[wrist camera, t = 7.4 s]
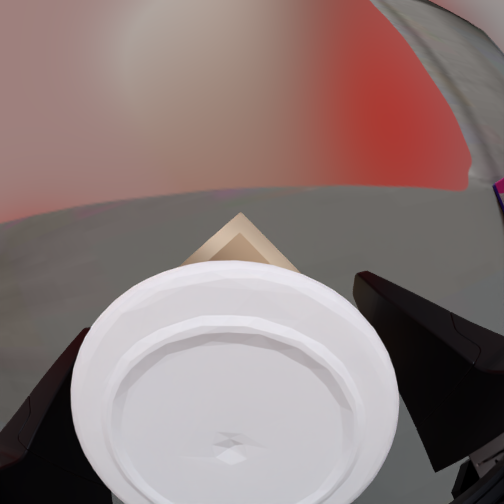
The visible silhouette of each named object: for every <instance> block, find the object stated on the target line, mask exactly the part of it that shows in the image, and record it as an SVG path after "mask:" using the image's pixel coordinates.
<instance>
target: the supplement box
mask: <svg viewBox="0 0 504 504" xmlns="http://www.w3.org/2000/svg"><path fill="white" fill-rule="evenodd" d="M493 188H494V190H495V193H496V195H497V197H498V200H499V202H500V204H501V207H502V210H503V212H504V178H502V179H501V180H499V181H498V182H496V183H494V184H493Z"/></svg>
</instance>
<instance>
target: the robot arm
mask: <svg viewBox="0 0 504 504" xmlns="http://www.w3.org/2000/svg"><path fill="white" fill-rule="evenodd" d="M353 297H354V300H355V302H356V304H357V307H358V309H359V311H360V313H361V314H362V315H363V316H364V318H365V319H366V320H367V321H368V322H369V323H370V325H371V326H372V327H373V328H374V329H375V331H376V333H377V334H378V336H379V337H380V339H381V341H382V343H383V344H384V346H385V348H386V350H387V352H388V354H389V357H390V360H391V362H392V365H393V368H394V371H395V375H396V380H397V386H398V391H399V393H400V395H401V397H402V399H403V401H404V403H405V405H406V407H407V409H408V411H409V414H410V416H411V418H412V420H413V422H414V424H415V427H416V428H417V431H418V434H419V436H420V438H421V441H422V443H423V445H424V447H425V450H426V452H427V455H428V457H429V459H430V462H431V464H432V467H433V469H434V471H435V473H436V472H438V471H440V470H442V469H444V468H446V467H448V466H450V465H452V464H454V463H456V462H458V461H459V460H461V459H463V458H465V457H467V456H469V459H468V460H466V461H465V462H464V463H463V464H461V466H460V469H459V472H458V475H457V478H456V481H455V484H454V487H453V489H452V492H451V493H452V495H453V498H454V500H453V501H452V502H450V503H449V504H504V336H502V335H500V334H498V333H495V332H493V331H491V330H488V329H486V328H483V327H481V326H479V325H477V324H474V323H472V322H470V321H468V320H466V319H464V318H462V317H460V316H458V315H456V314H454V313H452V312H450V311H448V310H446V309H444V308H442V307H440V306H438V305H437V304H435V303H433V302H431V301H429V300H427V299H425V298H423V297H421V296H419V295H417V294H415V293H413V292H411V291H408V290H406V289H404V288H402V287H400V286H398V285H396V284H394V283H392V282H390V281H388V280H386V279H384V278H382V277H380V276H377V275H375V274H373V273H371V272H369V271H362V272H359V273H357V274H356V275H355V279H354V286H353ZM90 329H91V327H88V328H84V329H83V330H82V331H81V332H80V333H79V334H78V336H77V337H76V338H75V339H74V340H73V341H72V342H71V344H70V345H69V346H68V347H67V348H66V350H65V351H64V352H63V353H62V354H61V355H60V357H59V358H58V359H57V360H56V362H55V363H54V364H53V365H52V366H51V368H50V369H49V370H48V371H47V373H46V374H45V375H44V376H43V378H42V379H41V380H40V382H39V383H38V384H37V385H36V387H35V388H34V389H33V391H32V392H31V393H30V396H28V397H27V399H26V400H25V401H24V403H23V404H22V405H21V407H20V408H19V409H18V411H17V412H16V413H15V415H14V416H13V417H12V418H11V420H10V421H9V422H8V423H7V424H6V426H5V427H4V428H3V429H2V431H1V432H0V504H113V502H112V495H111V490H110V489H109V488H108V487H107V486H106V485H105V484H104V482H103V481H102V480H101V478H100V477H99V476H98V474H97V473H96V472H95V470H94V469H93V467H92V466H91V464H90V462H89V461H88V459H87V457H86V456H85V454H84V452H83V449H82V447H81V444H80V442H79V439H78V436H77V434H76V431H75V427H74V423H73V416H72V409H71V382H72V375H73V368H74V365H75V362H76V359H77V356H78V353H79V350H80V347H81V345H82V343H83V341H84V338H85V336H86V335H87V333H88V332H89V330H90Z"/></svg>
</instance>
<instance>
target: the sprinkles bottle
mask: <svg viewBox="0 0 504 504" xmlns="http://www.w3.org/2000/svg"><path fill="white" fill-rule="evenodd" d="M71 409H72V416H73V423H74V427H75V431H76V434H77V436H78V439H79V442H80V444H81V447H82V449H83V452H84V454H85V456H86V457H87V459H88V461H89V462H90V464H91V466H92V467H93V469H94V470H95V472H96V473H97V474H98V476H99V477H100V478H101V480H102V481H103V482H104V484H105V485H106V486H107V487H108V488H109V489H110V490H111V491H112V492H113V493H114V494H115V495H116V496H117V497H118V498H119V499H120V500H121V501H122V502H124V503H125V504H351V503H352V502H353V501H354V500H355V499H356V498H357V497H358V496H359V495H360V494H361V493H362V492H363V491H364V490H365V489H366V488H367V487H368V486H369V484H370V483H371V482H372V480H373V479H374V478H375V476H376V475H377V473H378V471H379V470H380V468H381V466H382V465H383V463H384V461H385V459H386V457H387V454H388V452H389V450H390V448H391V445H392V442H393V439H394V435H395V432H396V427H397V421H398V412H399V393H398V386H397V380H396V375H395V371H394V368H393V365H392V362H391V360H390V357H389V354H388V352H387V350H386V348H385V346H384V344H383V343H382V341H381V339H380V337H379V336H378V334H377V333H376V331H375V329H374V328H373V327H372V326H371V325H370V323H369V322H368V321H367V320H366V319H365V318H364V316H363V315H362V314H361V313H360V312H359V311H358V310H357V309H356V308H355V307H354V306H353V305H352V304H350V303H349V302H348V301H347V300H346V299H345V298H344V297H342V296H341V295H339V294H338V293H337V292H335V291H334V290H332V289H330V288H329V287H327V286H325V285H324V284H322V283H320V282H318V281H315V280H313V279H311V278H309V277H307V276H305V275H303V274H300V273H297V272H294V271H291V270H288V269H284V268H281V267H278V266H274V265H270V264H264V263H257V262H248V261H239V260H230V261H207V262H200V263H194V264H189V265H184V266H181V267H178V268H174V269H171V270H168V271H165V272H162V273H160V274H158V275H155V276H153V277H150V278H148V279H146V280H144V281H142V282H140V283H139V284H137V285H135V286H133V287H132V288H130V289H129V290H128V291H126V292H125V293H124V294H122V295H121V296H120V297H119V298H117V299H116V300H115V301H114V302H113V303H112V304H111V305H110V306H109V307H108V308H107V309H106V310H105V311H104V312H103V313H102V314H101V315H100V316H99V318H98V319H97V320H96V321H95V322H94V324H93V325H92V327H91V329H90V330H89V332H88V333H87V335H86V336H85V338H84V341H83V343H82V345H81V347H80V350H79V353H78V356H77V359H76V362H75V365H74V368H73V375H72V382H71Z"/></svg>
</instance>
